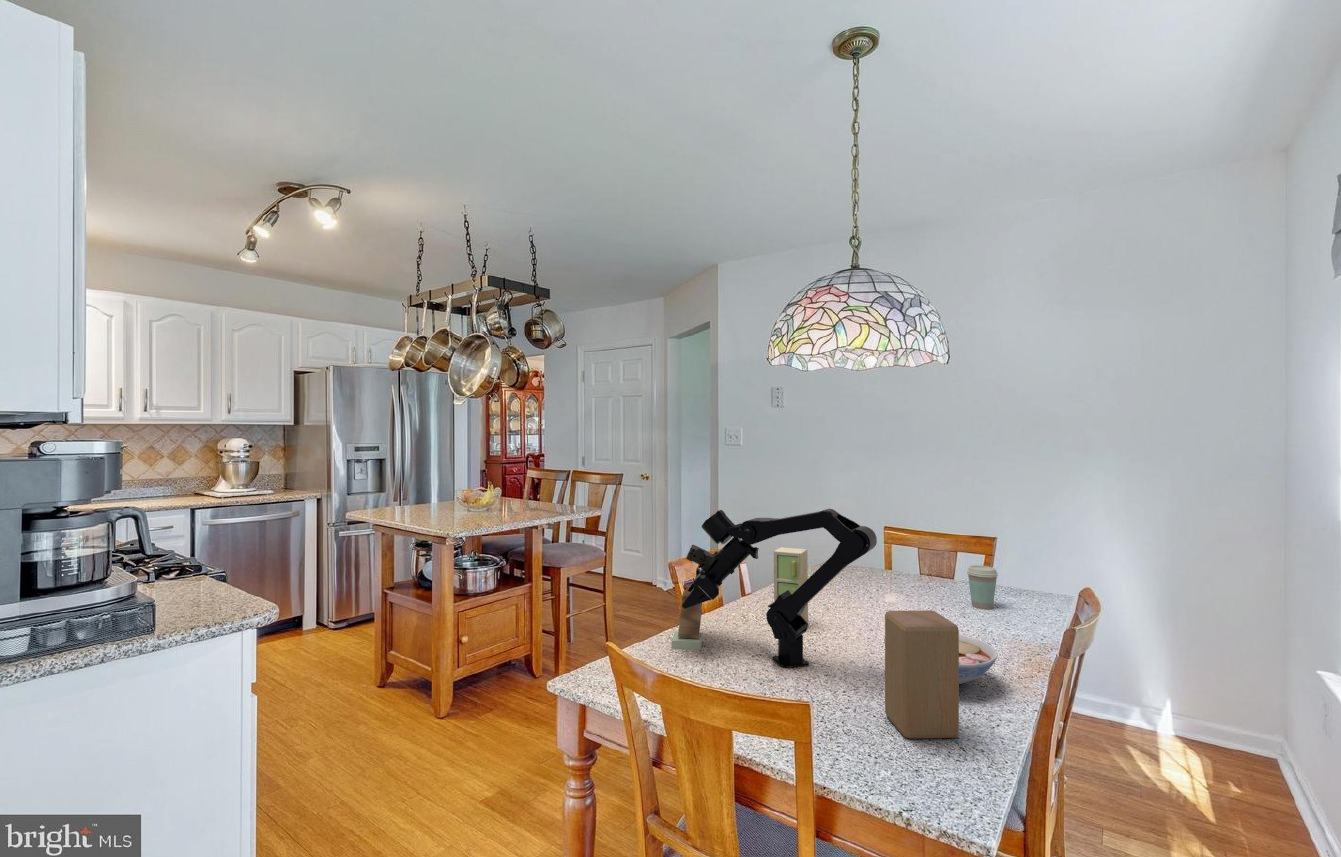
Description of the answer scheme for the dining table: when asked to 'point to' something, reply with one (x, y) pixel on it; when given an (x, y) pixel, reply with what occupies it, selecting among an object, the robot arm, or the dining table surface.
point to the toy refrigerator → (790, 572)
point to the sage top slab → (686, 642)
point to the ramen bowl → (974, 658)
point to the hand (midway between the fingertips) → (684, 601)
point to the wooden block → (922, 674)
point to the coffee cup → (982, 586)
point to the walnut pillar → (689, 619)
